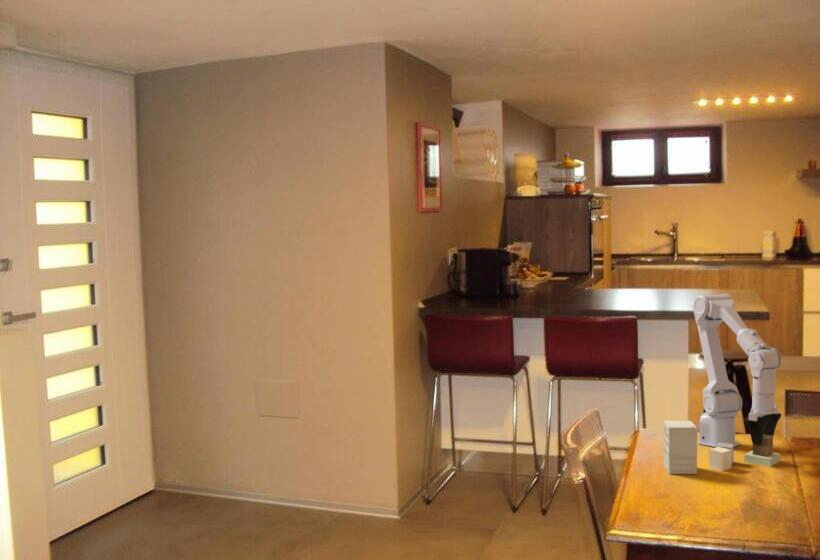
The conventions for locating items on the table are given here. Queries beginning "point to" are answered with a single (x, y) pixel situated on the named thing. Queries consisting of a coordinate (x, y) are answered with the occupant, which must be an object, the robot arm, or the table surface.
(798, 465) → the table surface
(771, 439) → the walnut block
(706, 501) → the table surface
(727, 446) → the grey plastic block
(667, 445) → the supplement box
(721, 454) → the cream block
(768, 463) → the sage slab
